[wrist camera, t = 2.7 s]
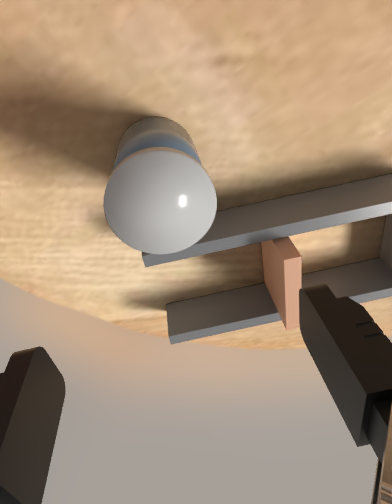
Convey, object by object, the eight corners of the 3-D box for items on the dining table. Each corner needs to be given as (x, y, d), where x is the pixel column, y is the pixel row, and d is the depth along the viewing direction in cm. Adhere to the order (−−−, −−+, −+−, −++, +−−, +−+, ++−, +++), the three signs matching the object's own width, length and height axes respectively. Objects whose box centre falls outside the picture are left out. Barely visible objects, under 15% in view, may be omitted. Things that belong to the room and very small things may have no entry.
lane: (142, 227, 27) (141, 255, 24) (405, 170, 27) (441, 190, 24) (168, 311, 32) (171, 344, 29) (387, 263, 32) (415, 291, 29)
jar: (103, 124, 22) (86, 166, 16) (189, 106, 22) (207, 140, 16) (128, 202, 26) (123, 263, 19) (203, 186, 26) (223, 241, 19)
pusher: (259, 217, 28) (284, 260, 23) (273, 214, 28) (301, 256, 23) (264, 281, 32) (286, 329, 27) (276, 279, 32) (301, 326, 27)
